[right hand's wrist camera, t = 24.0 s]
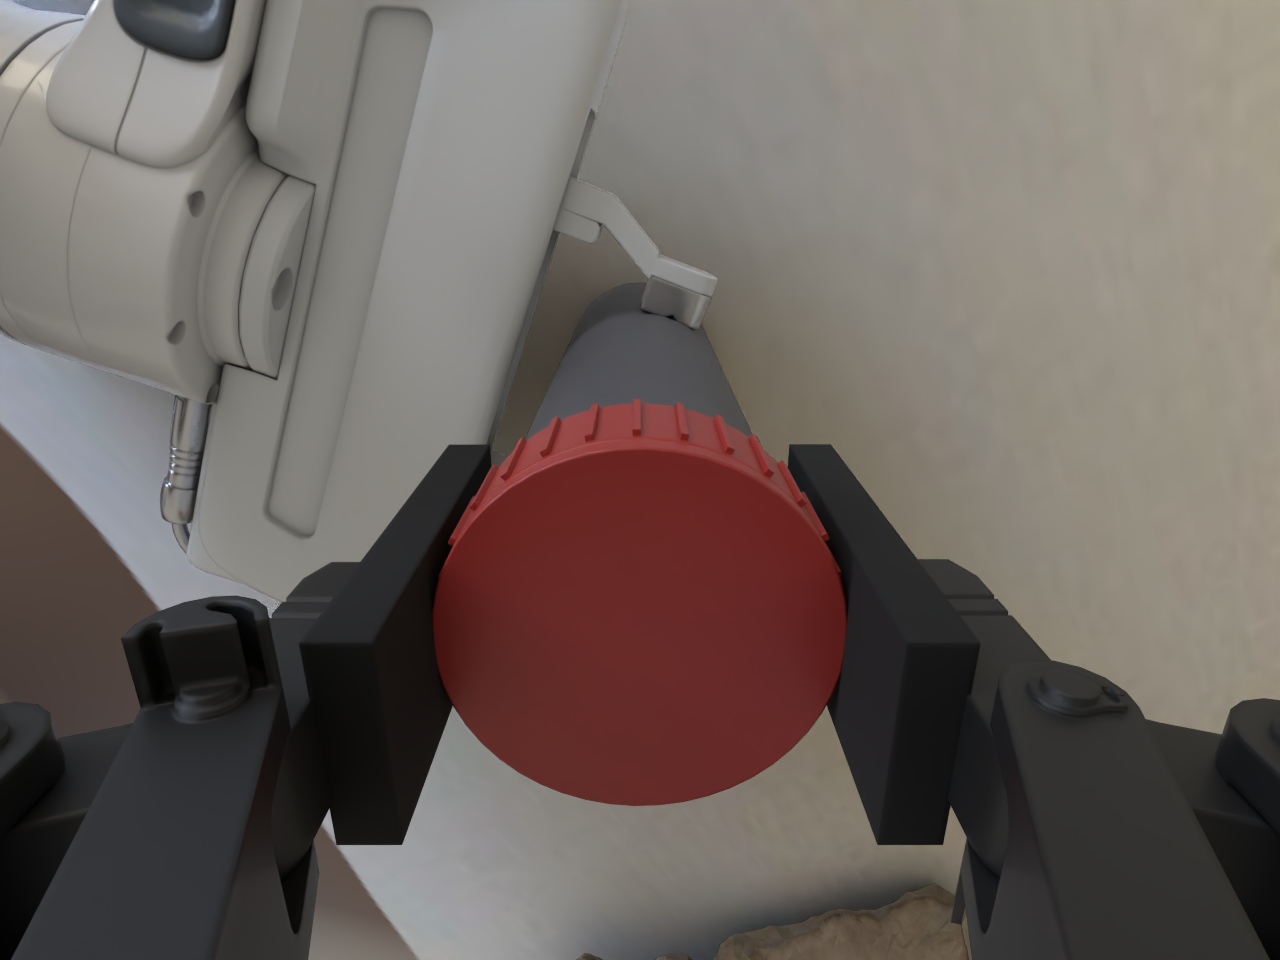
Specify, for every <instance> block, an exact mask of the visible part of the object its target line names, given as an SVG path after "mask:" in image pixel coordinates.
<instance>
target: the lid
mask: <svg viewBox="0 0 1280 960" xmlns="http://www.w3.org/2000/svg"><path fill="white" fill-rule="evenodd" d="M827 540H829V537H828V535H827V533H826V531H825V529H824V527H823V525H822V524H821V522H820V520H819V518H818V516H817V514H816V513H815V511H814V509H813V507H812V505H811V503H810V502H809V500H808V498H807V496H806V494H805V492H802V493H801V492H800V490H799V488H798V486H797V484H796V482H795V480H794V479H793V477H792V475H791V473H790V471H789V469H788V467H787V466H786V464H785V463H784V462H783V461H780V462H779V463H777V462H776V461H775V459H774V458H773V457H771V456H770V455H769V454H768V453H767V452H766V451H765V450H764V449H763V448H762V446H761V443H760V441H759V439H758V437H756V436H755V435H754V434H752V435H751V436H750V437H747V436H746V435H745V434H743V433H742V432H740V431H739V430H737V429H735V428H733V427H731V426H729V425H727V424H726V423H725V422H724V419H723V417H722V416H720V415H718V414H716V416H715V418H713V417H710V416H707V415H704V414H702V413H699V412H696V411H693V410H688V409H684V406H683V403H678V402H676V404H675V406H670V405H660V404H649V403H641V399H633V404H618V405H612V406H605V407H599V404H598V403H596V404H592V405H591V408H590V410H588V411H584V412H581V413H578V414H574V415H571V416H569V417H567V418H565V419H563V420H560V418H559V417H558V416H557V417H555V418H553V419H552V420H551V423H550V425H549V426H548V427H546V428H545V429H543V430H541V431H540V432H538V433H536V434H535V435H533V436H532V437H530V438H529V439H528V440H525V439H524V437H522V438H521V439H519V440H518V442H517V444H516V446H515V448H514V450H513V452H512V453H511V454H510V455H509V456H508V457H507V458H506V459H505V460H504V462H503V463H502V464H501V465H500V466H499V467H498V466H497V465H495V464H494V465H493V466H492V467H491V468H490V470H489V472H488V474H487V476H486V478H485V479H484V481H483V483H482V485H481V487H480V489H479V491H478V492H477V494H476V496H473V497H472V499H471V501H470V503H469V505H468V506H467V508H466V510H465V512H464V514H463V516H462V517H461V519H460V521H459V523H458V525H457V527H456V528H455V530H454V532H453V534H452V536H451V537H450V540H449V542H448V544H449V545H452V546H453V547H452V549H451V551H450V553H449V555H448V557H447V559H446V561H445V564H444V566H443V568H442V570H441V572H440V574H439V576H438V577H439V581H438V584H437V587H436V590H435V596H434V603H433V610H432V621H433V631H434V641H435V650H436V658H437V666H438V671H439V674H440V677H441V680H442V683H443V686H444V688H445V690H446V692H447V694H448V696H449V698H450V700H451V703H452V705H453V706H454V708H455V709H456V711H457V712H458V714H459V715H460V717H461V718H462V720H463V721H464V723H465V724H466V726H467V727H468V728H469V729H470V730H471V732H472V733H473V734H474V735H475V736H476V737H477V738H478V740H479V741H480V742H481V743H482V744H483V745H484V746H485V747H487V748H488V749H489V750H490V751H491V752H492V753H493V754H494V755H495V756H497V757H498V758H499V759H500V760H502V761H503V762H505V763H506V764H507V765H509V766H510V767H512V768H513V769H515V770H516V771H517V772H519V773H521V774H523V775H524V776H526V777H528V778H530V779H532V780H534V781H535V782H537V783H539V784H541V785H544V786H546V787H549V788H551V789H554V790H556V791H559V792H561V793H564V794H568V795H571V796H574V797H578V798H581V799H585V800H590V801H596V802H601V803H607V804H616V805H630V806H645V805H664V804H671V803H679V802H685V801H689V800H693V799H698V798H702V797H706V796H709V795H712V794H715V793H718V792H720V791H723V790H726V789H729V788H731V787H733V786H736V785H738V784H740V783H742V782H744V781H746V780H748V779H750V778H752V777H754V776H755V775H757V774H758V773H760V772H762V771H763V770H765V769H766V768H768V767H770V766H771V765H773V764H774V763H775V762H776V761H778V760H779V759H780V758H781V757H783V756H784V755H785V754H786V753H788V752H789V751H790V750H791V749H792V748H793V747H794V746H795V745H796V744H797V743H798V742H799V741H800V740H801V739H802V738H803V737H804V736H805V735H806V734H807V733H808V731H809V730H810V729H811V727H812V726H813V725H814V723H815V722H816V721H817V719H818V718H819V716H820V715H821V714H822V712H823V710H824V708H825V707H826V705H827V703H828V701H829V699H830V698H831V696H832V694H833V691H834V689H835V686H836V684H837V681H838V678H839V676H840V673H841V670H842V662H843V654H844V646H845V637H846V627H847V606H846V599H845V594H844V590H843V586H842V582H841V570H840V568H839V566H838V564H837V562H836V561H835V559H834V557H833V555H832V553H831V551H830V549H829V547H828V545H827V544H826V542H825V541H827Z"/></svg>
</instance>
